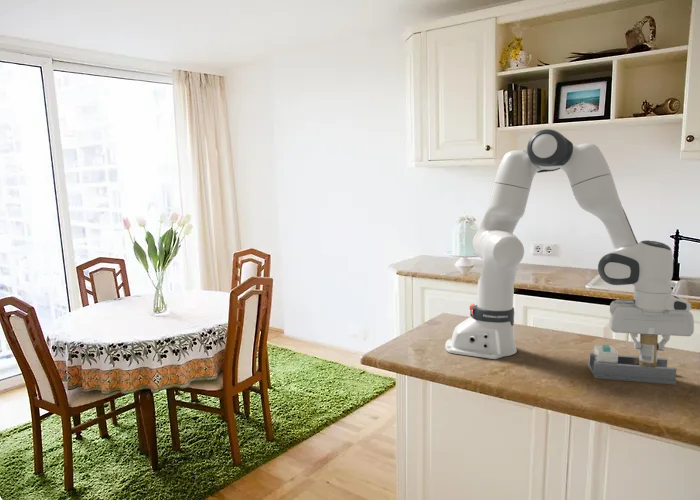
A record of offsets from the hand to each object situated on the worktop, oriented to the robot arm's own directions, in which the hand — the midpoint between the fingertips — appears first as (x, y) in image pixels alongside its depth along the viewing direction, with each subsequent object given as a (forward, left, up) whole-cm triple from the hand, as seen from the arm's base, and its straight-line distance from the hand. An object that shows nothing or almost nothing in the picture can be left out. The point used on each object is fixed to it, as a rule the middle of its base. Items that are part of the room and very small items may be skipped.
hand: (648, 349), depth 144 cm
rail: (-4, 0, -8) cm, 9 cm away
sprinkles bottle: (0, +1, -7) cm, 7 cm away
